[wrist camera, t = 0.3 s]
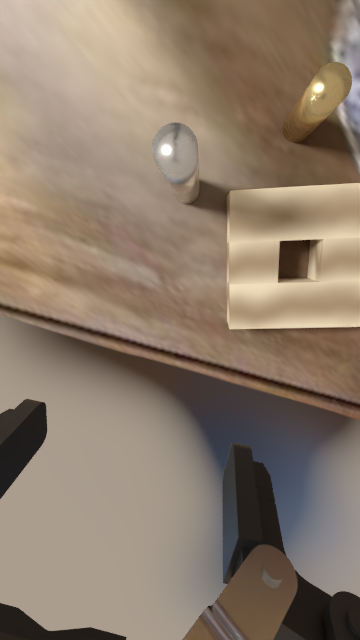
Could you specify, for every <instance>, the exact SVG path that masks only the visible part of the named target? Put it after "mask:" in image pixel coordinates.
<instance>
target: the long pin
mask: <svg viewBox="0 0 360 640" xmlns="http://www.w3.org/2000/svg"><path fill="white" fill-rule="evenodd" d="M152 152H153V157H154V160H155V162H156V164H157V165H158V167H159V169H160V171H161V172H162V174H163V176H164V178H165V179H166V181H167V183H168V185H169V186H170V188H171V190H172V192H173V193H174V195H175V197H176V199H177V200H178V201H180V202H181V203H184V204H188V203H192V202H193V201H195V200H196V198H197V197H198V195H199V166H198V144H197V140H196V137H195V135H194V133H193V132H192V130H191V129H190V128H189V127H187V126H186V125H184V124H181V123H170V124H167V125H165V126H163V127H162V128H161V129H160V130H159V131H158V132H157V134H156V136H155V138H154V140H153V145H152Z"/></svg>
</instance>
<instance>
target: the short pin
mask: <svg viewBox="0 0 360 640" xmlns="http://www.w3.org/2000/svg"><path fill="white" fill-rule="evenodd" d="M351 85H352V77H351V73H350V71H349V69H348V68H347V67H346V66H345V65H344V64H342V63H339V62H332V63H329V64H326V65H325V66H323V67H322V68H321V69H320V70H319V71H318V72H317V74H316V75H315V77H314V78H313V80H312V81H311V83H310V84H309V86H308V87H307V89H306V90H305V91H304V93H303V94H302V96H301V97H300V99H299V100H298V102H297V103H296V105H295V106H294V108H293V109H292V111H291V112H290V113H289V115H288V116H287V118H286V120H285V122H284V125H283V133H284V135H285V137H286V138H287V139H288V140H289V141H291V142H301V141H303V140H304V139H305V138H306V137H307V136H308V135H309V134H310V133H311V132H312V131H313V130H314V129H315V128H316V127H317V126H318V125H319V124H320V123H321V122H322V121H323V120H324V119H325V118H326V117H327V116H328V115H329V114H330V113H331V112H332V111H333V110H334V109H335V108H336V107H337V106H338V105H339V104H340V103H341V102H342V101H343V100H344V99H345V98H346V97H347V95H348V94H349V92H350V89H351Z"/></svg>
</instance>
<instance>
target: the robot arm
mask: <svg viewBox="0 0 360 640" xmlns="http://www.w3.org/2000/svg"><path fill="white" fill-rule="evenodd" d="M46 434H47V416H46V404H45V403H44V402H39V401H34V400H29V399H26V400H24V401H23V402H22V403H21V404H19V405H18V406H17V407H16V408H15V409H9V410H7V411H5V412H3V413H1V414H0V499H1V498H2V496H3V495H4V494H5V492H6V491H7V490H8V488H9V487H10V486H11V485H12V483H13V482H14V481H15V479H16V478H17V477H18V475H19V474H20V473H21V472H22V470H23V469H24V468H25V466H26V465H27V463H29V461H30V460H31V459H32V457H33V456H34V455H35V453H36V452H37V451H38V450H39V448H40V447H41V445H42V444H43V442H44V440H45V438H46ZM223 583H225V584H227V586H226V587H225V589H224V590H223V591H222V593H221V594H220V596H219V597H218V599H217V600H216V601H215V603H214V604H213V605H212V606H208V607H207V608H206V609H205V610H204V611H203V613H202V614H201V615H200V616H199V618H198V619H197V621H196V622H195V623H194V625H193V626H192V627H191V629H190V630H189V631H188V633H187V634H186V636H185V637H184V638H183V640H360V598H359V597H358V596H356V595H354V594H352V593H349V592H345V591H344V592H338V593H336V594H334V595H333V597H332V596H330V595H329V594H327V593H325V592H323V591H322V590H320V589H319V588H317V587H316V586H314V585H312V584H310V583H309V582H308V581H306V580H305V579H304V578H302V577H301V576H300V575H299V574H298V573H297V572H296V570H295V569H294V567H293V566H292V564H291V562H290V560H289V559H288V558H287V556H286V554H285V551H284V547H283V542H282V536H281V532H280V526H279V521H278V515H277V510H276V505H275V499H274V494H273V488H272V483H271V478H270V475H269V473H268V471H267V470H266V468H265V467H264V465H263V463H259V462H254V461H253V458H252V450H251V447H250V446H246V445H241V444H236V443H232V444H231V447H230V451H229V455H228V459H227V462H226V466H225V470H224V475H223ZM0 640H126V637H124V636H120V635H117V634H113V633H109V632H105V631H101V630H98V629H94V628H91V627H90V628H80V629H70V630H59V631H47V630H45V629H44V628H43V627H42V626H40V625H39V624H38V623H37V622H35V621H34V620H33V619H32V618H30V617H29V616H28V615H26V614H25V613H24V612H23V611H21V610H20V609H19V608H16V607H13V606H9V605H5V604H1V603H0Z"/></svg>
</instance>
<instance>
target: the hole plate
mask: <svg viewBox="0 0 360 640" xmlns="http://www.w3.org/2000/svg"><path fill="white" fill-rule="evenodd" d="M290 240H310V251H309V264H308V278H282V279H278V267H279V247H280V241H290ZM227 322H228V326H229V329H268V328H323V327H360V183H351V184H334V185H317V186H300V187H282V188H265V189H248V190H231V191H230V192H229V194H228V196H227Z"/></svg>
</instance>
